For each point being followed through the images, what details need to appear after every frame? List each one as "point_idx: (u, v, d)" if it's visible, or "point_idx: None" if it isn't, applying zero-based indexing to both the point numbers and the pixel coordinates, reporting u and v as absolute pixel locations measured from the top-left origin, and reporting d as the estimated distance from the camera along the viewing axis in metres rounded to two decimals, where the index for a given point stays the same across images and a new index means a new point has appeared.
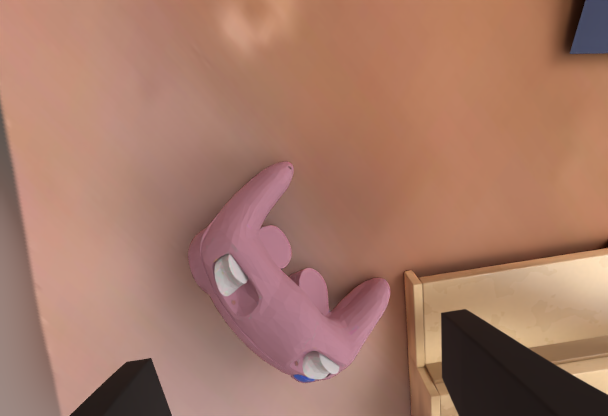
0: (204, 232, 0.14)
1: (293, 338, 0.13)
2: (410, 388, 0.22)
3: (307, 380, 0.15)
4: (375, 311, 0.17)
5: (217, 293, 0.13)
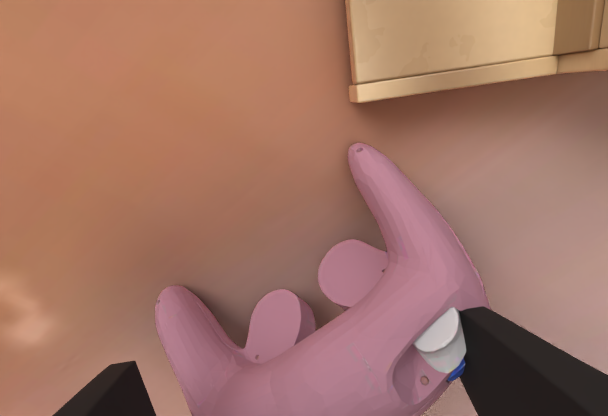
0: None
1: (354, 409, 0.08)
2: None
3: None
4: (382, 194, 0.09)
5: None
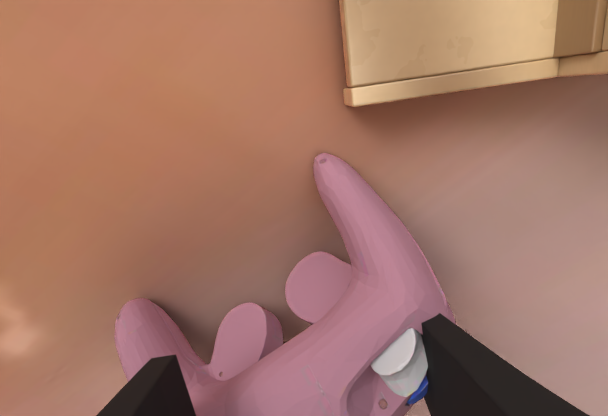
0: None
1: None
2: None
3: (427, 384, 0.08)
4: (344, 208, 0.09)
5: None
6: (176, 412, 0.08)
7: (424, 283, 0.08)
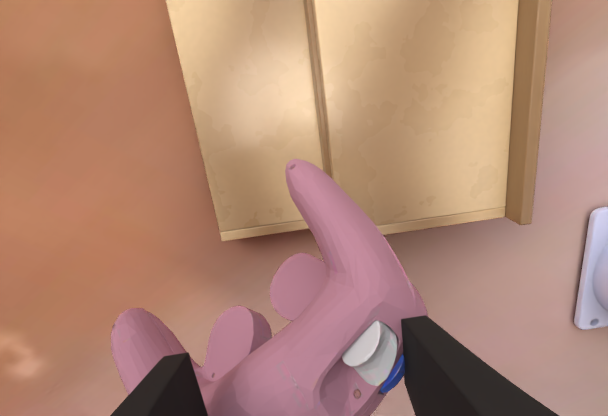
0: None
1: None
2: None
3: (398, 372, 0.08)
4: (312, 210, 0.09)
5: None
6: (189, 410, 0.08)
7: (390, 277, 0.09)
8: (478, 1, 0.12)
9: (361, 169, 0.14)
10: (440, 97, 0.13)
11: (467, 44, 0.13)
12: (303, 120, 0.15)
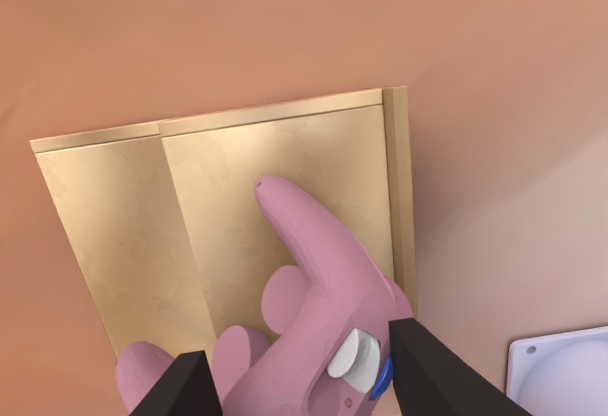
0: None
1: None
2: None
3: (385, 376, 0.08)
4: (281, 226, 0.09)
5: None
6: (206, 407, 0.08)
7: (364, 282, 0.09)
8: (348, 204, 0.12)
9: None
10: None
11: None
12: (199, 285, 0.15)
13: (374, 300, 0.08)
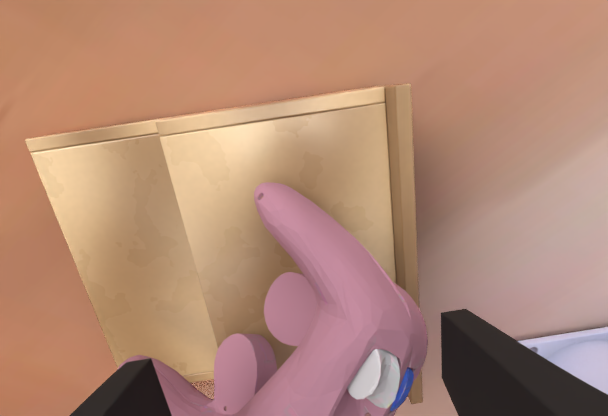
0: None
1: None
2: None
3: (404, 390, 0.08)
4: (290, 242, 0.09)
5: None
6: None
7: (381, 299, 0.08)
8: (350, 204, 0.12)
9: None
10: None
11: None
12: (198, 286, 0.15)
13: (392, 317, 0.08)
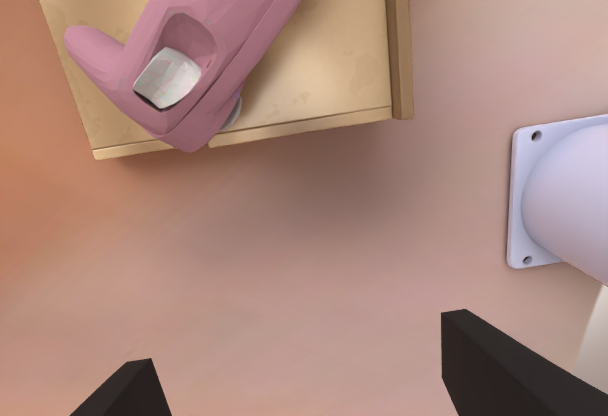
0: (152, 135, 0.10)
1: None
2: None
3: None
4: None
5: (200, 94, 0.08)
6: None
7: None
8: None
9: None
10: None
11: None
12: None
13: None
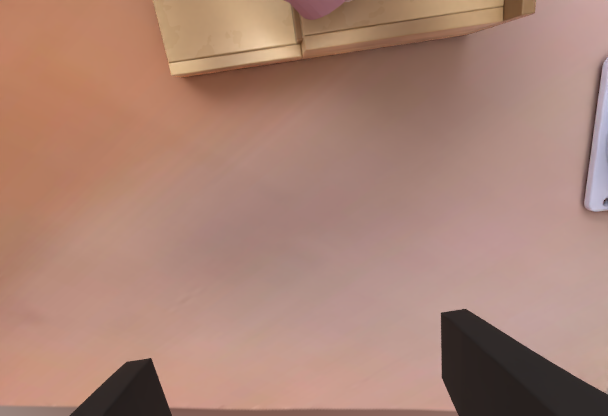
0: None
1: None
2: (365, 49, 0.16)
3: None
4: None
5: None
6: None
7: None
8: None
9: None
10: None
11: None
12: None
13: None
